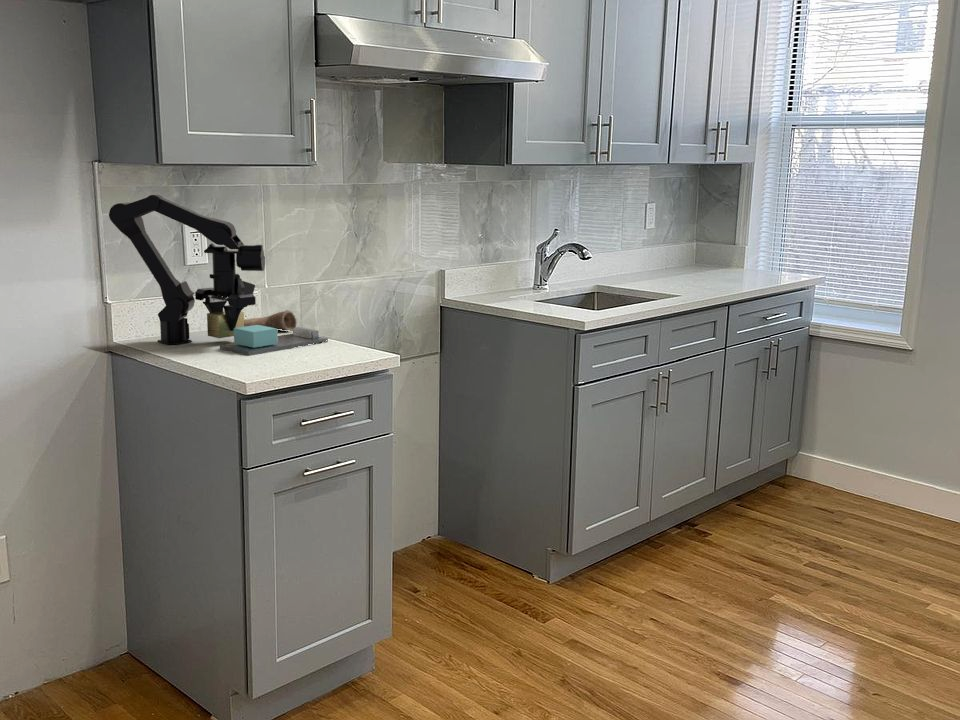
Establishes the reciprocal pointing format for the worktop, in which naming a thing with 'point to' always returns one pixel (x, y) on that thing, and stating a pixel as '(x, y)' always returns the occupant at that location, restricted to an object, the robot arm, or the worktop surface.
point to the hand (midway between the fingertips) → (226, 329)
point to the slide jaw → (255, 336)
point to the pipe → (275, 321)
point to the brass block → (221, 324)
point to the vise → (280, 342)
